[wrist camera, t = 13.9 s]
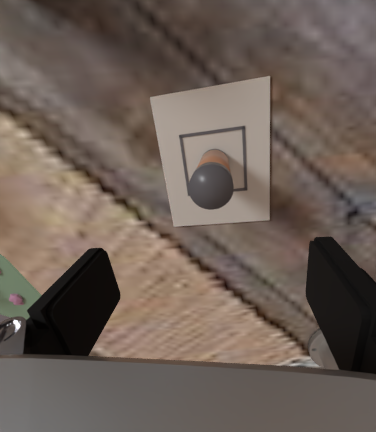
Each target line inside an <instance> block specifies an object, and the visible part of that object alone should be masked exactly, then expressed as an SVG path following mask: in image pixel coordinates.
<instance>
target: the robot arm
mask: <svg viewBox="0 0 376 432" xmlns="http://www.w3.org/2000/svg"><path fill="white" fill-rule="evenodd" d="M306 297H307V301H308V303H309V305H310V307H311V309H312V311H313V314H314V316H315V318H316V320H317V322H318V325H319V327H320V330H318V331H317V332H316V333H315V334H314V335H313V336H312V337H311V338H310V340H309V343H308V351H309V353H310V356H311V358H312V359H313V361H314V362H315V363H316V364H318V365H319V366H321V367H323V368H325V369H320V368H306V367H292V366H276V365H258V364H239V363H221V362H203V361H183V360H163V359H142V358H121V357H97V356H88V355H89V353H90V352H91V350H92V348H93V346H94V344H95V343H96V341H97V339H98V337H99V336H100V334H101V332H102V330H103V329H104V327H105V325H106V323H107V321H108V320H109V318H110V316H111V314H112V313H113V311H114V309H115V307H116V306H117V304H118V302H119V300H120V291H119V288H118V285H117V282H116V279H115V276H114V272H113V269H112V266H111V263H110V260H109V257H108V254H107V252H106V251H104V250H103V249H102V248H91V249H88V250H87V251H86V252H85V253H84V254H83V255H82V256H81V257H80V258H79V259H78V260H77V261H76V262H75V263H74V264H73V265H72V266H71V267H70V268H69V269H68V270H67V271H66V272H65V273H64V274H63V275H62V276H61V277H60V278H59V279H58V280H57V281H56V282H55V283H54V284H53V285H52V286H51V287H50V288H49V289H48V290H47V291H46V292H45V293H44V294H43V295H42V296H41V297H40V298H39V299H38V300H37V301H36V302H35V303H34V304H33V305H32V306H31V307H30V308H29V309H28V310H27V312H28V314H29V316H30V317H29V318H28V319H27V320H26V319H25V318H24V317H21V316H17V317H12V318H9V319H6V320H4V321H2V322H0V432H376V282H375V281H374V280H373V279H372V278H371V277H370V276H369V275H368V274H367V273H366V271H364V270H363V269H362V268H360V267H359V266H358V265H357V264H356V263H355V262H354V261H353V260H352V259H351V258H350V256H349V255H348V254H347V253H346V252H345V251H344V250H343V249H342V248H341V246H340V245H339V244H338V243H337V242H336V241H335V240H334V239H333V238H332V237H316V238H315V239H314V241H310V244H309V256H308V269H307V281H306Z"/></svg>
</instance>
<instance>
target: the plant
mask: <svg viewBox="0 0 376 432" xmlns="http://www.w3.org/2000/svg"><path fill="white" fill-rule="evenodd" d="M41 296H42V295H41V294H40V293H39V292H38V291H37V290H36V289H35V288H34V287H33V286H32V285H31V284H30V283H29V282H28V281H27V280H26V279H25V278H24V277H23V276H22V275H21V274H20V273H19V271H18V270H17V269H16V268H15V267H14V266H13V265H12V264H11V263H10V262H9V261H8V260H7V259H6V258H5V257H4V256H2V255H1V254H0V314H1V315H5V316H8V317H11V318H12V317H17V316H21V317H24V318H25V319H26V320H27V319H28V318H29V317H30V316H29V314H28V312H27V310H28V309H29V308H30V307H31V306H32V305H33V304H34V303H35V302H36V301H37V300H38V299H39V298H40V297H41Z"/></svg>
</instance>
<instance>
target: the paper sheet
mask: <svg viewBox="0 0 376 432" xmlns="http://www.w3.org/2000/svg"><path fill="white" fill-rule="evenodd" d="M150 101H151V106H152V111H153V117H154V122H155V128H156V133H157V138H158V144H159V149H160V155H161V160H162V165H163V171H164V176H165V182H166V187H167V192H168V198H169V203H170V209H171V214H172V219H173V225H174V227H177V226H192V225H207V224H222V223H237V222H251V221H266V220H270V76H267V77H261V78H256V79H250V80H244V81H239V82H233V83H227V84H222V85H216V86H210V87H205V88H199V89H194V90H188V91H182V92H177V93H171V94H165V95H160V96H154V97H150ZM210 149H219V150H222V151H223V152H224V153H225V154H226V155H227V157H228V160H229V166H230V173H231V175H232V179H233V185H234V191H233V195H232V197H231V199H230V201H229V202H228V203H227V204H226V205H224V206H223V207H221V208H219V209H214V210H208V209H204V208H201V207H199V206H198V205H196V204H195V203H194V202H193V200H192V199H191V197H190V195H189V190H188V185H189V181H190V179H191V177H192V175H193V173H194V171H195V170H196V168H197V166H198V164H199V162H200V160H201V158H202V156H203V154H204V153H205V152H206V151H208V150H210Z"/></svg>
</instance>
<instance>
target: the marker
mask: <svg viewBox="0 0 376 432" xmlns="http://www.w3.org/2000/svg"><path fill="white" fill-rule="evenodd" d="M188 190H189V195H190V197H191V199H192V200H193V202H194V203H195V204H196V205H198V206H199V207H201V208H204V209H208V210H214V209H219V208H221V207H223V206H224V205H226V204H227V203H228V202H229V201H230V199H231V197H232V195H233V191H234V185H233V179H232V175H231V173H230V166H229V160H228V157H227V155H226V154H225V153H224V152H223V151H222V150H219V149H210V150H208V151H206V152H205V153H204V154H203V156H202V158H201V160H200V162H199V164H198V166H197V168H196V170H195V171H194V173H193V175H192V177H191V179H190V181H189V185H188Z"/></svg>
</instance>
